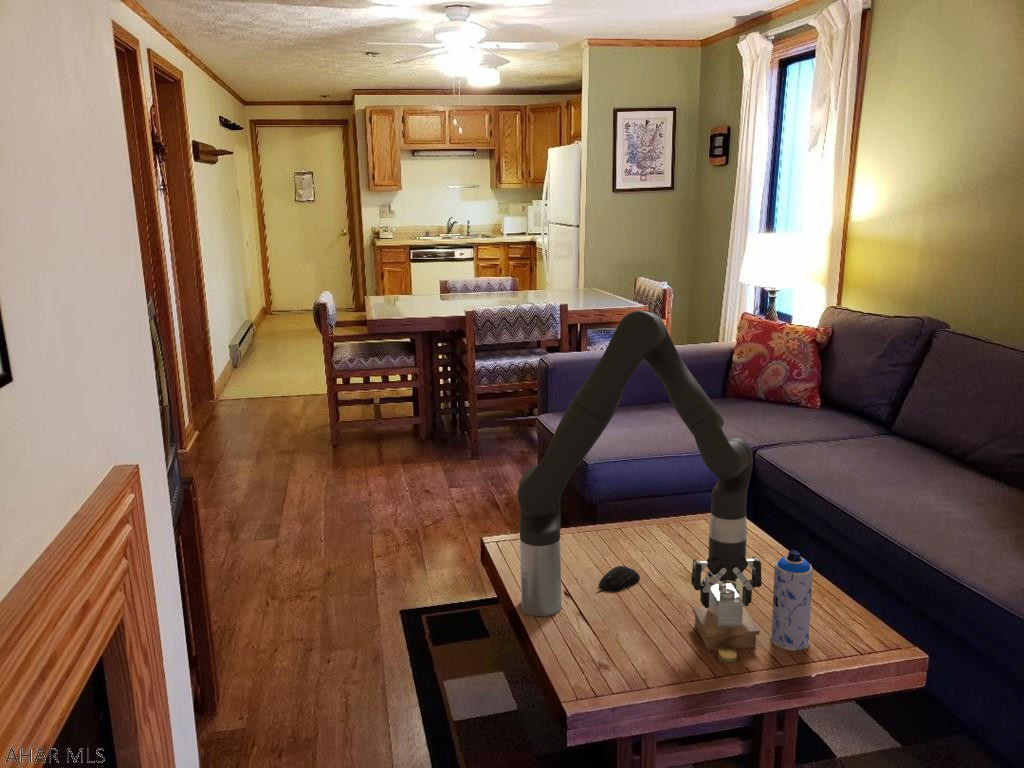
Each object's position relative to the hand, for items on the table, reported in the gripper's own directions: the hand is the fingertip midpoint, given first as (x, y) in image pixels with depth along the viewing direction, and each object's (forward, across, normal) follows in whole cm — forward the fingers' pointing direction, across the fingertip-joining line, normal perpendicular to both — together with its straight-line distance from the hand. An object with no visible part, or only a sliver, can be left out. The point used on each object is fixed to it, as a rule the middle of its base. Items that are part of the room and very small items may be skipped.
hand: (725, 605), depth 165 cm
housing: (+3, 0, 0) cm, 3 cm away
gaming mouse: (+8, +19, -26) cm, 33 cm away
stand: (+7, 0, 0) cm, 7 cm away
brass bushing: (+7, +2, +8) cm, 11 cm away
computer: (+8, -5, -16) cm, 18 cm away
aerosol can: (+7, -13, +3) cm, 15 cm away
